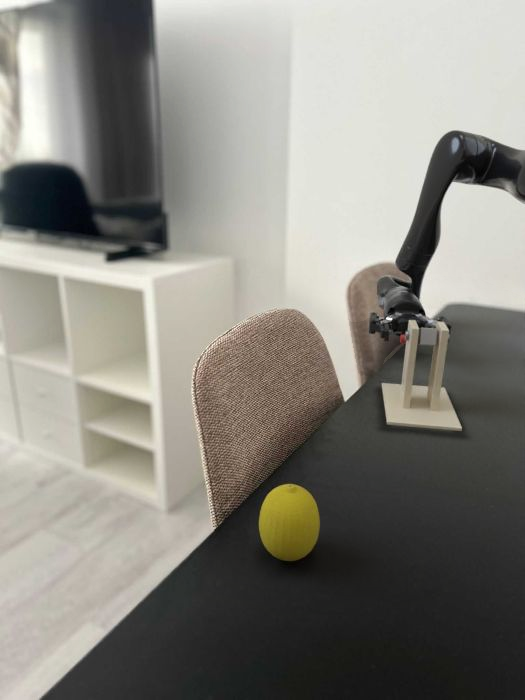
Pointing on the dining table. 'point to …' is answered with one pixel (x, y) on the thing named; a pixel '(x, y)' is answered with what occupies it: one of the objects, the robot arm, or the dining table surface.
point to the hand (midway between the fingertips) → (412, 337)
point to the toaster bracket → (421, 388)
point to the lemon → (289, 522)
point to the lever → (424, 337)
